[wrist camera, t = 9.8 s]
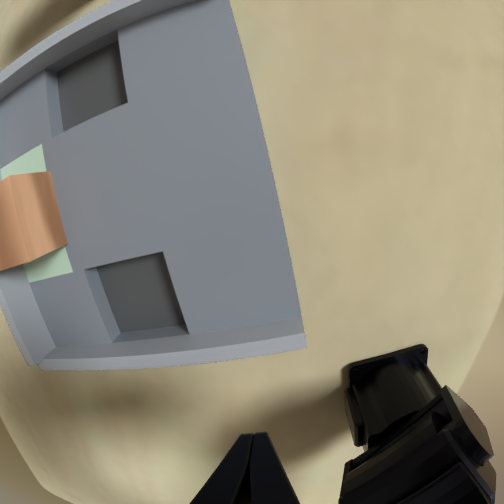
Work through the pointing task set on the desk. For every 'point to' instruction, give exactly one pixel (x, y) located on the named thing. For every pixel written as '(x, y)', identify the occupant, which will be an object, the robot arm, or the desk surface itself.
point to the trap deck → (147, 195)
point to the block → (28, 219)
